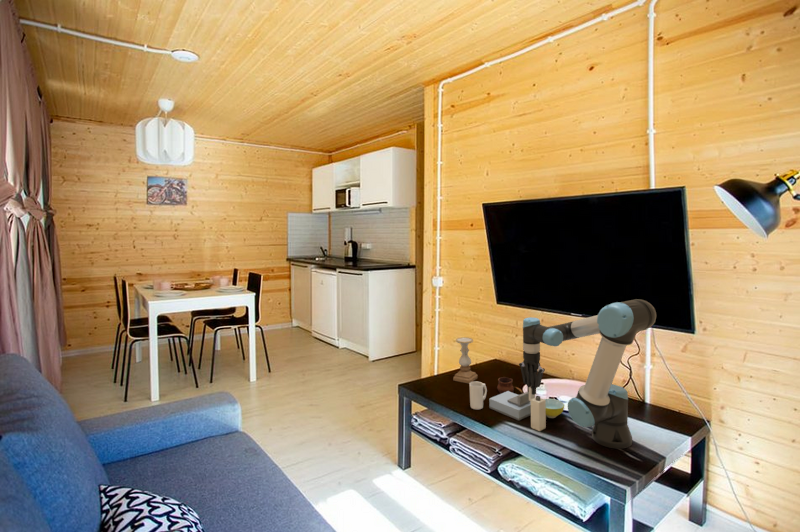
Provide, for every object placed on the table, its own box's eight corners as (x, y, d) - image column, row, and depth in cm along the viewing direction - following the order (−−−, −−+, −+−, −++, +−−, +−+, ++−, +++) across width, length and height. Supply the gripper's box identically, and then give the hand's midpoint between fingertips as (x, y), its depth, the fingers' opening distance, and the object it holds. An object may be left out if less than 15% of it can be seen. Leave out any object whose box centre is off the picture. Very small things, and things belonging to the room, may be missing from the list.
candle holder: (452, 380, 257) (451, 340, 254) (461, 374, 266) (460, 336, 263) (469, 383, 250) (468, 343, 248) (478, 377, 259) (477, 338, 257)
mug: (475, 411, 215) (475, 387, 214) (467, 406, 221) (466, 383, 220) (491, 405, 220) (490, 382, 219) (482, 401, 226) (482, 378, 225)
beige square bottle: (545, 428, 195) (545, 396, 194) (539, 431, 193) (539, 399, 191) (537, 424, 199) (536, 393, 198) (530, 427, 196) (530, 396, 195)
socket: (537, 411, 212) (537, 401, 211) (518, 420, 203) (518, 410, 203) (508, 400, 226) (507, 390, 226) (489, 408, 218) (489, 398, 217)
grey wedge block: (530, 402, 211) (530, 392, 210) (520, 406, 206) (519, 396, 206) (517, 397, 217) (517, 387, 216) (507, 401, 212) (507, 392, 212)
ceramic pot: (520, 385, 245) (520, 373, 244) (524, 399, 227) (524, 386, 227) (488, 385, 248) (487, 373, 247) (489, 398, 231) (488, 386, 230)
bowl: (558, 424, 199) (558, 411, 198) (534, 417, 206) (534, 404, 206) (568, 415, 207) (568, 402, 206) (544, 408, 215) (544, 396, 214)
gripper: (548, 352, 199) (548, 402, 202) (525, 346, 210) (525, 393, 212) (538, 356, 195) (538, 407, 197) (514, 349, 205) (515, 398, 208)
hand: (531, 400), depth 205 cm, fingers closed
